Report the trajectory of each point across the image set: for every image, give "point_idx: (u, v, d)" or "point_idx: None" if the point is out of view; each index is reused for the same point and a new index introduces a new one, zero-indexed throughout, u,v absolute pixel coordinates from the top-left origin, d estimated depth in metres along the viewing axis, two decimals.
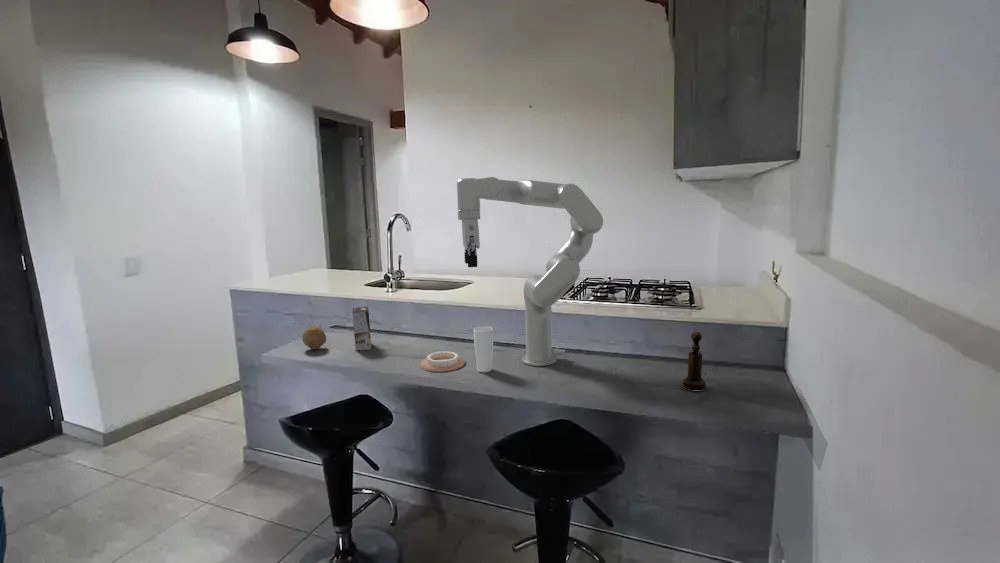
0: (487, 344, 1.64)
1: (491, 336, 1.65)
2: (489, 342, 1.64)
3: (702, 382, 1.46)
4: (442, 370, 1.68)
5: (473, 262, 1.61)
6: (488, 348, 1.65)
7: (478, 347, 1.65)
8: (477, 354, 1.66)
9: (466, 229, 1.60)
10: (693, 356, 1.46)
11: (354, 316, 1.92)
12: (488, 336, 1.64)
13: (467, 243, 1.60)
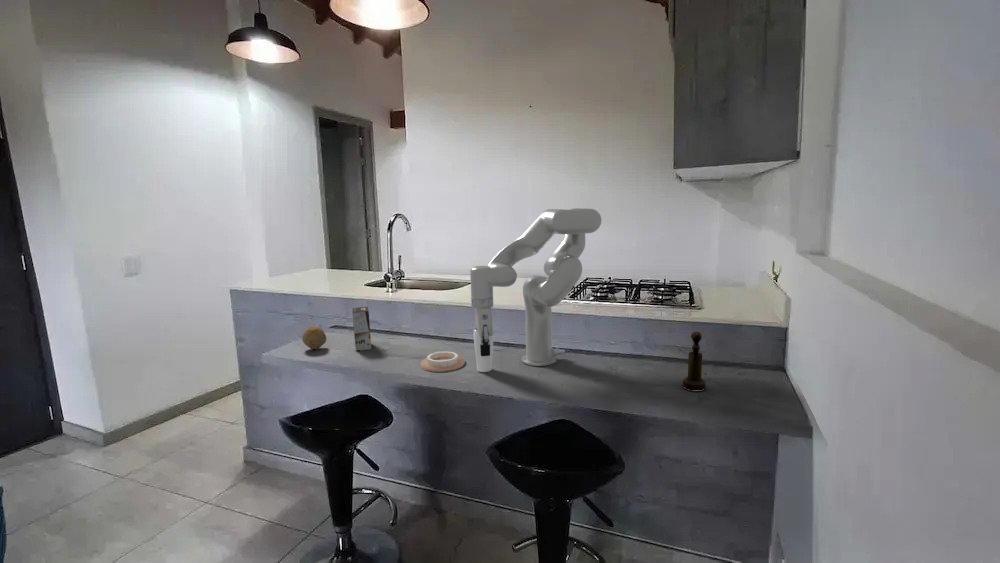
0: None
1: (491, 336, 1.65)
2: (489, 342, 1.65)
3: (702, 382, 1.46)
4: (442, 370, 1.68)
5: (486, 351, 1.63)
6: None
7: (478, 347, 1.65)
8: (477, 354, 1.66)
9: (479, 318, 1.61)
10: (693, 356, 1.46)
11: (354, 316, 1.92)
12: None
13: (480, 332, 1.61)
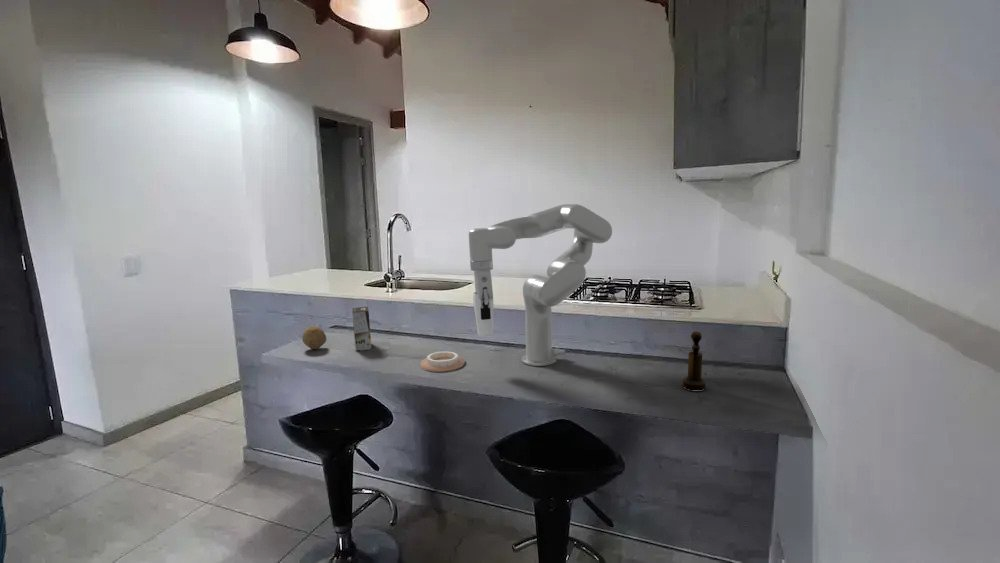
0: None
1: (491, 299, 1.63)
2: None
3: (702, 382, 1.46)
4: (442, 370, 1.68)
5: (486, 315, 1.61)
6: None
7: (478, 311, 1.63)
8: (477, 318, 1.64)
9: (479, 280, 1.59)
10: (693, 356, 1.46)
11: (354, 316, 1.92)
12: None
13: (480, 294, 1.59)
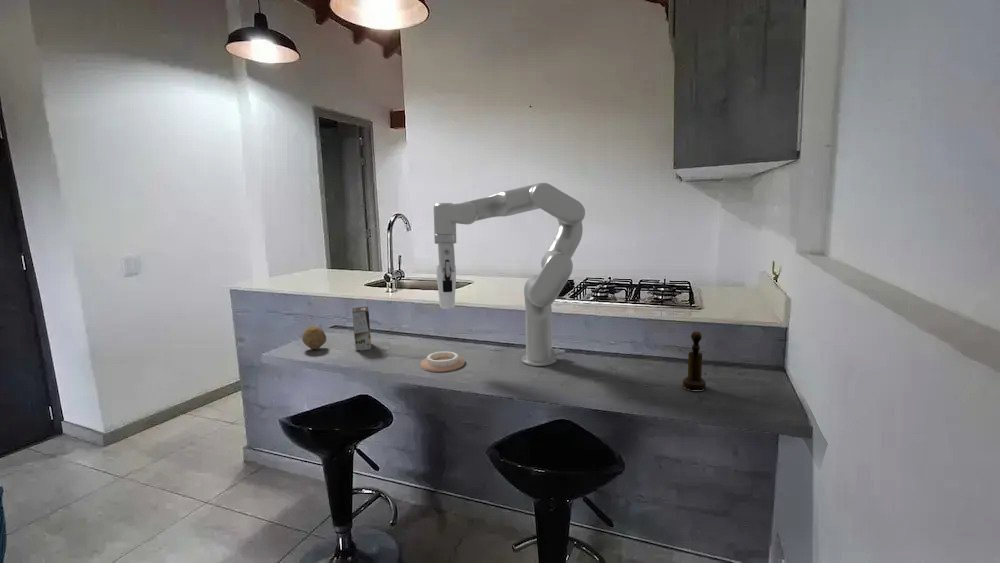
0: None
1: (453, 272, 1.67)
2: None
3: (702, 382, 1.46)
4: (442, 370, 1.68)
5: (448, 287, 1.65)
6: None
7: (440, 283, 1.67)
8: (440, 290, 1.68)
9: (442, 253, 1.63)
10: (693, 356, 1.46)
11: (354, 316, 1.92)
12: None
13: (443, 267, 1.63)
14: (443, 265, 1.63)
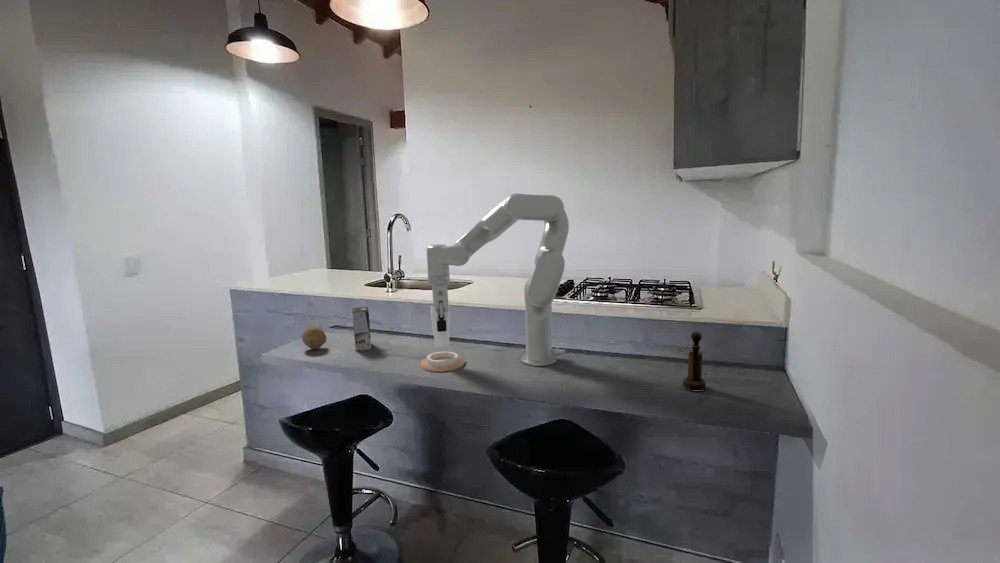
0: None
1: (447, 312, 1.71)
2: (445, 318, 1.71)
3: (702, 382, 1.46)
4: (442, 370, 1.68)
5: (442, 327, 1.69)
6: None
7: (434, 323, 1.71)
8: (434, 330, 1.72)
9: (435, 294, 1.67)
10: (693, 356, 1.46)
11: (354, 316, 1.92)
12: None
13: (436, 308, 1.67)
14: (437, 306, 1.67)
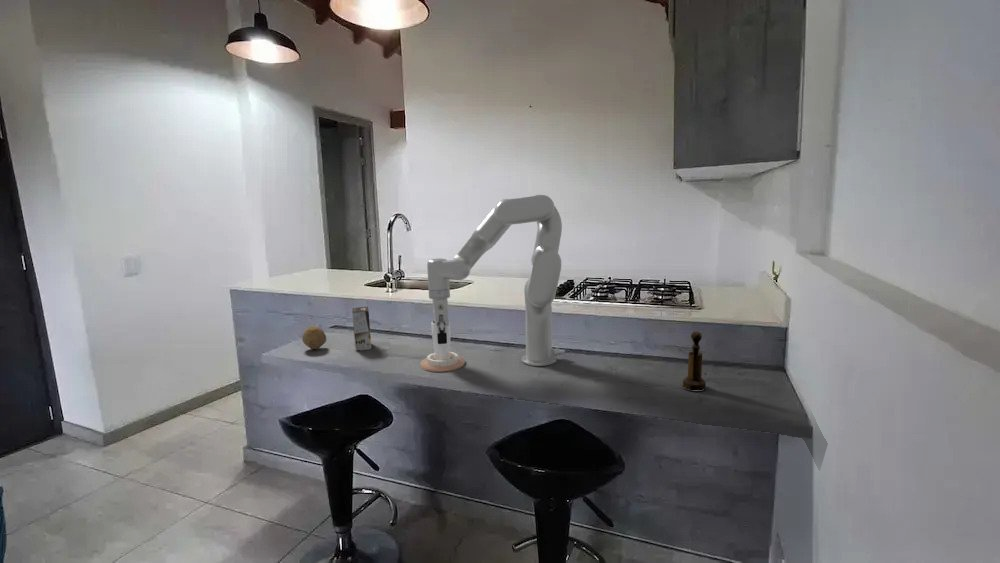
0: None
1: (448, 328, 1.72)
2: None
3: (702, 382, 1.46)
4: (442, 370, 1.68)
5: (442, 339, 1.69)
6: None
7: (435, 339, 1.72)
8: (435, 345, 1.73)
9: (436, 308, 1.68)
10: (693, 356, 1.46)
11: (354, 316, 1.92)
12: None
13: (437, 321, 1.68)
14: (437, 320, 1.68)
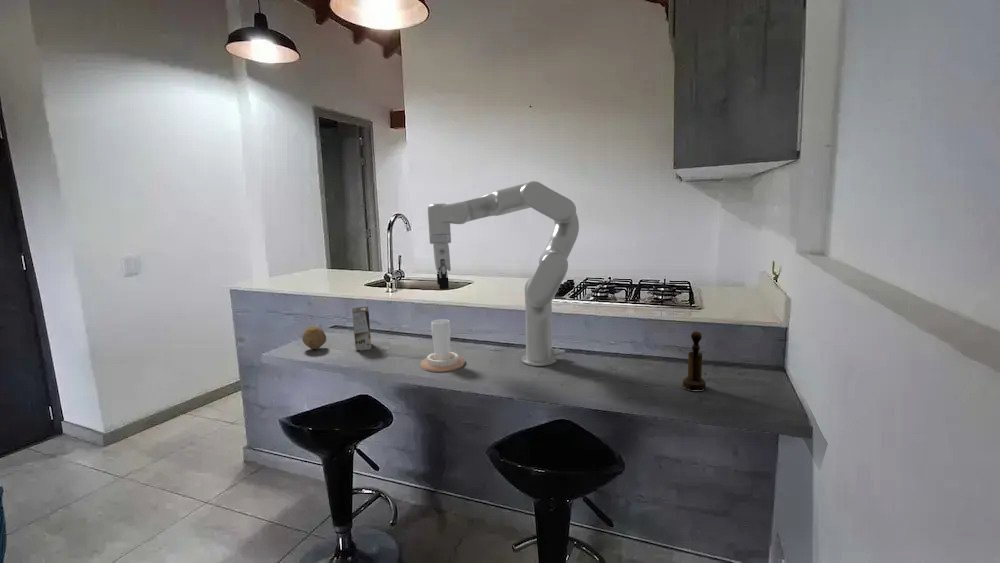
0: (444, 336, 1.72)
1: (448, 328, 1.72)
2: (446, 334, 1.72)
3: (702, 382, 1.46)
4: (442, 370, 1.68)
5: (444, 284, 1.67)
6: (445, 339, 1.72)
7: (435, 339, 1.72)
8: (435, 345, 1.73)
9: (437, 253, 1.66)
10: (693, 356, 1.46)
11: (354, 316, 1.92)
12: (445, 328, 1.71)
13: (438, 266, 1.67)
14: (439, 264, 1.67)
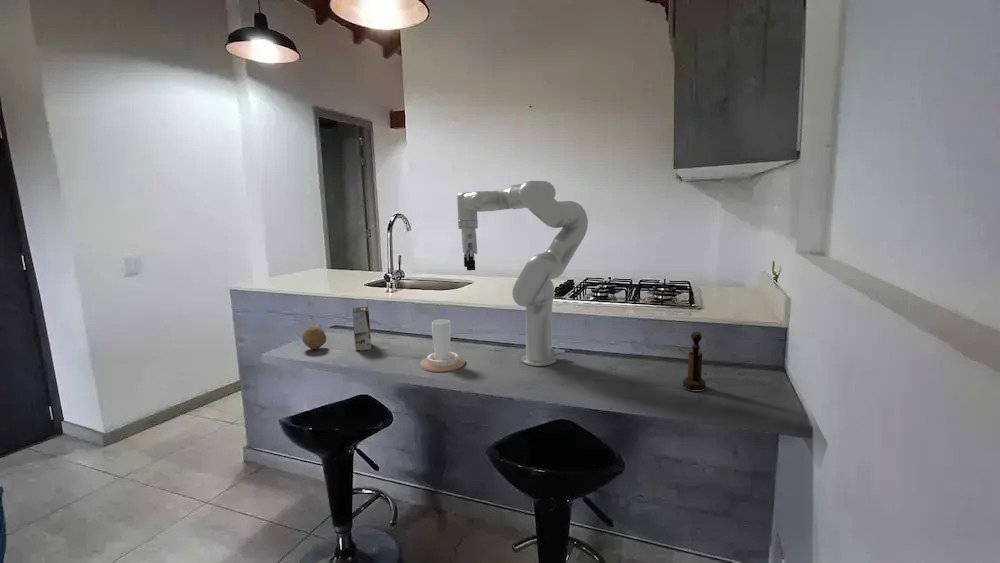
0: (444, 336, 1.72)
1: (448, 328, 1.72)
2: (446, 334, 1.72)
3: (702, 382, 1.46)
4: (442, 370, 1.68)
5: (471, 266, 1.83)
6: (445, 340, 1.72)
7: (435, 339, 1.72)
8: (435, 345, 1.73)
9: (465, 237, 1.82)
10: (693, 356, 1.46)
11: (354, 316, 1.92)
12: (445, 328, 1.71)
13: (466, 249, 1.83)
14: (466, 248, 1.83)
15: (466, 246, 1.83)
